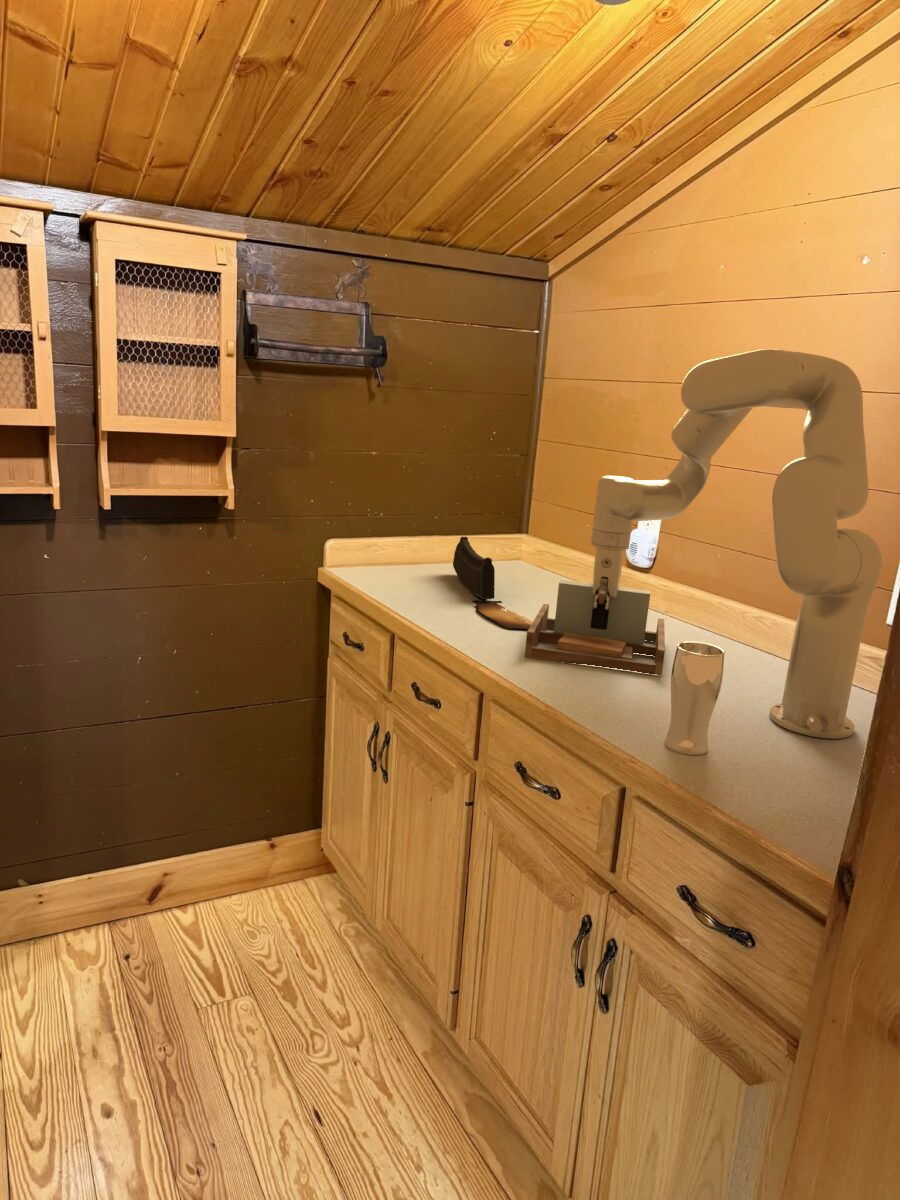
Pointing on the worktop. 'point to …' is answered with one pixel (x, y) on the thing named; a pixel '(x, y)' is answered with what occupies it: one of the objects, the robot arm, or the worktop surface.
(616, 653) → the offcut stack
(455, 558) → the magazine
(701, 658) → the beer glass
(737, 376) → the robot arm
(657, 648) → the rack
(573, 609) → the tall board
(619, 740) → the worktop surface
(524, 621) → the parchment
